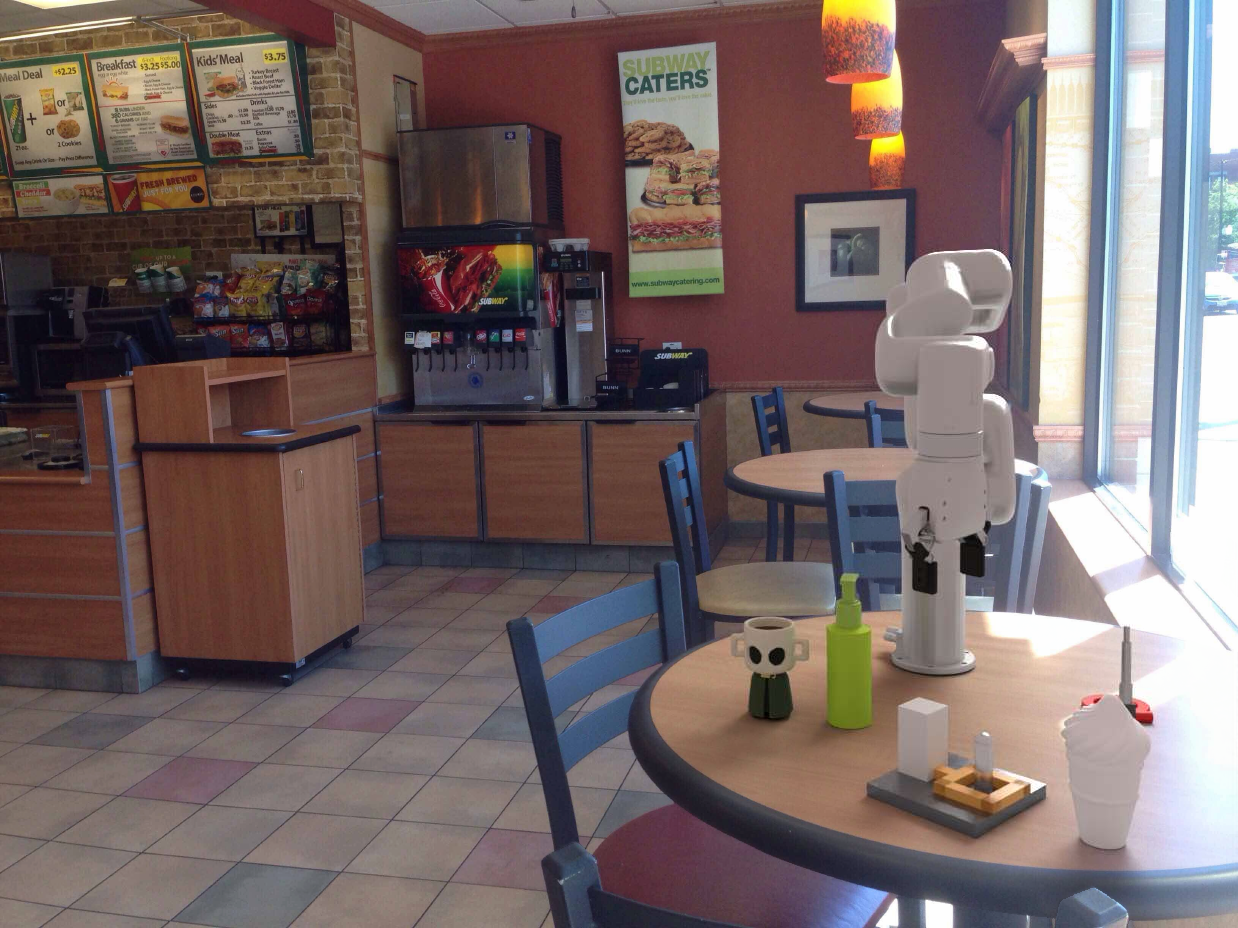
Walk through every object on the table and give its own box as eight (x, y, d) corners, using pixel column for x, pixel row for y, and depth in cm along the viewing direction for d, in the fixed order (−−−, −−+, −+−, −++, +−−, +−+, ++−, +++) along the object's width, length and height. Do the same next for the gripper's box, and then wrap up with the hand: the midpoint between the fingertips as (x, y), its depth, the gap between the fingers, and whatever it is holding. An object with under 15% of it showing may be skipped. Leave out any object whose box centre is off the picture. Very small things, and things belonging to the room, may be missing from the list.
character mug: (726, 719, 146) (724, 628, 144) (737, 701, 153) (735, 614, 151) (806, 726, 142) (805, 632, 141) (813, 707, 149) (812, 618, 147)
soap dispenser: (874, 712, 147) (873, 571, 144) (869, 730, 140) (868, 583, 138) (831, 708, 149) (830, 569, 146) (824, 726, 142) (822, 581, 139)
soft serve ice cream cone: (1044, 824, 113) (1046, 679, 111) (1119, 818, 114) (1122, 674, 112) (1085, 863, 105) (1088, 707, 103) (1165, 856, 105) (1170, 702, 103)
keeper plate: (866, 795, 121) (866, 724, 120) (938, 760, 130) (938, 693, 129) (975, 837, 111) (976, 760, 109) (1045, 796, 119) (1047, 724, 118)
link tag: (889, 775, 123) (888, 709, 122) (927, 757, 127) (927, 693, 126) (993, 814, 112) (993, 742, 111) (1030, 793, 117) (1031, 723, 116)
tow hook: (1074, 701, 149) (1093, 722, 140) (1075, 611, 148) (1094, 627, 139) (1138, 702, 148) (1161, 724, 139) (1139, 611, 147) (1163, 627, 138)
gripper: (964, 433, 135) (963, 563, 138) (878, 452, 124) (879, 592, 127) (1018, 438, 129) (1016, 574, 132) (933, 458, 118) (932, 605, 121)
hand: (948, 583), depth 129 cm, fingers open, 9 cm apart
